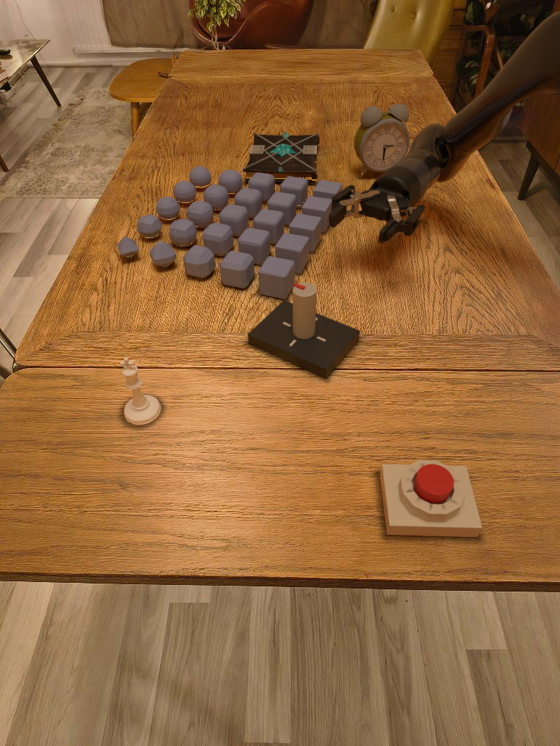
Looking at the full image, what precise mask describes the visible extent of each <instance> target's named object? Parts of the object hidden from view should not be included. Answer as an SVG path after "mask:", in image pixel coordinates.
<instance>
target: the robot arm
mask: <svg viewBox="0 0 560 746" xmlns="http://www.w3.org/2000/svg"><path fill="white" fill-rule="evenodd" d="M539 93H543V94H545V95H552V96H560V11H555V12H554V13H552V14H551V15H548V17H547V18H545V19H544V20H543V21H542V22H540V23H539V25H538V26H537V27H536V28H534V30H532V32H531V33H530V34H529V35H528V36H527V37H526V38H525V40H524V41H523V42H522V43H521V44H520V46H519V47H518V48H517V49H516V51H514V53H513V54H512V55H511V57H510V58H509V59H508V60H507V61H506V62H505V64H504V65H503V66H502V67H501V68H500V70H499V71H498V72H497V73H496V75H495V76H494V77H493V79H492V80H491V81H490V82H489V83H488V85H486V87H485V88H484V89H483V90H482V91H481V92H480V93H479V94H478V95H477V96H476V97H475V98H474V99H473V100H471V101H470V102H469V103H468V104H466V105H465V106H464V107H463V108H462V109H460V111H458V112H457V113H456V114H454V116H452V117H451V118H450V119H449V120H448V121H447V122H446V124H445V125H443V124H441V123H437V122H435V123H431V124H428V125H426V126H425V127H423V128H422V129H421V130H420V131H419V132H418V134H416V136H415V137H414V139H413V141H412V142H411V143H410V146H409V149H408V151H407V154H406V155H405V157H404V158H403V159H402V160H401V161H399V162H397V163H396V164H394V165H393V166H392V167H391V168H389V169H388V170H387V171H384V172H382V174H381V175H380V176H379V177H377V178H376V179H375V180H374V181H373V183H372V184H371V186H370V187H369V188H368V189H366V190H363V191H361V192H360V191H357V190H356V186H355V185H354V184H349V185H347V186H346V187H343V188H342V191H340V192H339V193H337V194H336V195H334V196H333V197H332V206H331V212H330V213H329V226H328V227H330V228H336V227H337V226H338V225H339V224H341V222H342V221H344V220H345V218H351V217H353V218H354V219H360V218H364V217H367V218H371V219H375V220H377V221H381V222H383V221H384V222H385V225H384V226H382V228H380V230H379V233H378V239H377V242H378V243H379V244H382V245H383V244H384V243H386V242H390V241H392V239H393V238H394V237H395V236H397V235H400V233H402V234H403V235H404V236H405V237H411V236H412V235H413V234H414V233H415V232H416V230H417V229H418V228H419V226H420V225H421V224H422V222H423V219H424V216H425V215H424V214H425V210H426V205H424V204H418V203H419V201H421V200H422V199H423V197H424V196H425V195H426V193H427V191H428V190H430V188H432V186H433V185H435V183H445V182H449V181H450V180H452V179H453V178H455V177H456V176H457V175H458V174H459V172H460V171H461V170H462V169H463V167H464V166H465V165H466V164H467V162H468V160H469V159H470V157H471V156H472V155H473V154H475V152H477V151H478V150H479V149H481V148H482V147H485V146H486V145H487V144H488V143H491V141H493V140H495V139H496V138H497V137H498V136H499V135H500V134H501V133H502V132H503V131H504V129H505V128H506V126H507V125H508V123H509V121H510V118H511V115H512V112H513V108H514V106H516V105H517V104H518V103H520V102H522V101H524V100H526V99H528V98H530V97H531V96H535V95H537V94H539ZM416 204H418V205H417V206H416ZM350 206H351V208H350V209H348V207H350ZM415 206H416V207H415ZM359 208H360V209H361V210H359ZM347 209H348V210H347ZM406 216H407V218H406V219H405V220H403V218H405V217H406Z"/></svg>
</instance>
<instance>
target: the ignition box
mask: <svg viewBox="0 0 560 746" xmlns="http://www.w3.org/2000/svg"><path fill="white" fill-rule="evenodd" d="M427 464H436V465H440V466H442V467H444V468H446V469H447V470H448V471H449V472H450V473H451V475H452V477H453V479H454V486H453V489H452V491H451V494H450V496H449V498H448V499H447V500H446V501H444V502H442V503H436V504H435V503H429V502H427V501H425V500H423V499H421V498H420V497H419V496H418V494H417V493H416V491H415V488H414V481H415V478H416V475H417V472H418V470H419V469H420V468H421V467H422V466H424V465H427ZM379 479H380V487H381V488H380V489H381V496H382V497H381V498H382V504H383V513H384V522H385V528H386V529H385V531H386V535H387V536H414V537H415V536H418V537H455V538H456V537H457V538H458V537H459V538H478V537H479V535H480V533H481V531H482V530H483V525H482V521H481V517H480V513H479V509H478V505H477V502H476V497H475V494H474V490H473V486H472V481H471V478H470V474H469V470H468V467H467V465H447V464H445V463H443V462H440V461H438V460H434V459H419V460H416V461H414V462H413V463H411V464H400V463H399V464H398V463H397V464H395V463H394V464H393V463H382V464H381V467H380V472H379Z"/></svg>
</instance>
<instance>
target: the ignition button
mask: <svg viewBox="0 0 560 746" xmlns="http://www.w3.org/2000/svg"><path fill="white" fill-rule="evenodd" d="M453 486H454V479H453V477H452V475H451V473H450V472H449V471H448V470H447V469H446V468H444V467H442V466H440V465H436V464H427V465H424V466H422V467H421V468H420V469H419V470H418V472H417V475H416V478H415V481H414V488H415V491H416V493H417V494H418V496H419V497H420V498H421V499H423V500H425V501H427V502H429V503H435V504H436V503H442V502H444V501H446V500H447V499H448V498H449V496H450V494H451V491H452V489H453Z"/></svg>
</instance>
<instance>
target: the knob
mask: <svg viewBox="0 0 560 746" xmlns="http://www.w3.org/2000/svg"><path fill="white" fill-rule="evenodd" d="M317 295H318V289H317V286H316V285H315V284H314V283H311V282H307V281H306V282H305V281H302V282H299V283H298V282H295V284H294V286H293V288H292V303H293V334H294V336H296V337H297V338H299V339H309V338H311V337H313V336H314V334H315V321H316V313H317Z"/></svg>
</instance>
